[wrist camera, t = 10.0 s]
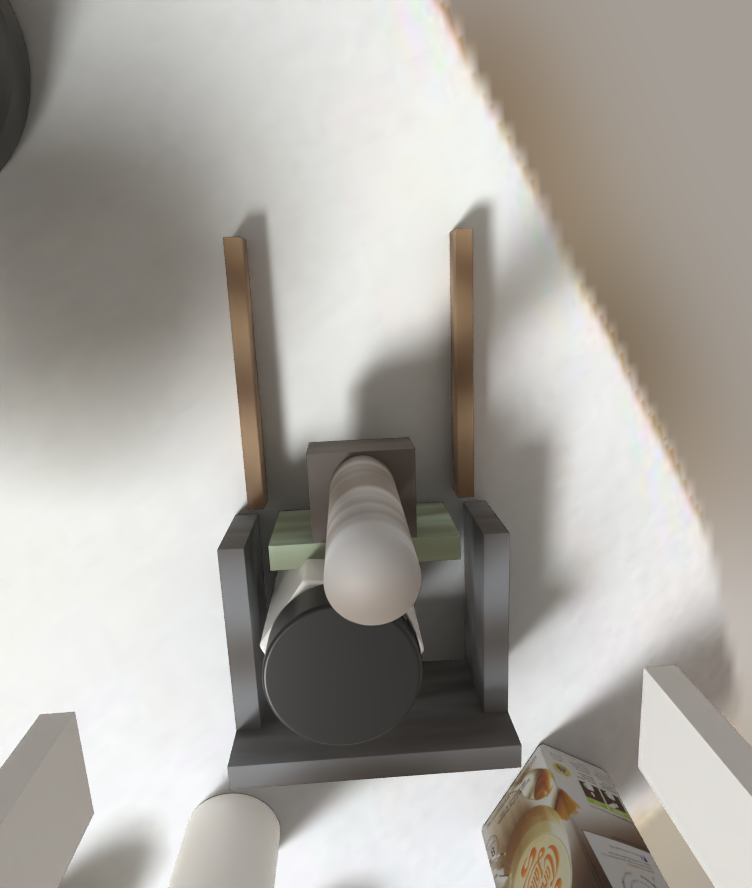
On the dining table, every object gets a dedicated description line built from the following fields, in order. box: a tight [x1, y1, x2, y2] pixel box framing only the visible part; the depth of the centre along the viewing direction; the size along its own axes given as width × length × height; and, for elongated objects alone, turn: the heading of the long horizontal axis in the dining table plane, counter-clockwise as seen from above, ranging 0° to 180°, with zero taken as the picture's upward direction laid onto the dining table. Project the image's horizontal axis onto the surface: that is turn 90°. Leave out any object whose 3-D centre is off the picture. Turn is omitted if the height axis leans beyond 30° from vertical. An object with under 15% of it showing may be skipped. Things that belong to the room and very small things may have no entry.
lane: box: [217, 228, 521, 789], centre depth 36 cm, size 31×17×9 cm, turn 2°
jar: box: [260, 559, 424, 745], centre depth 36 cm, size 9×8×12 cm
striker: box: [268, 437, 461, 625], centre depth 31 cm, size 7×11×18 cm, turn 92°
